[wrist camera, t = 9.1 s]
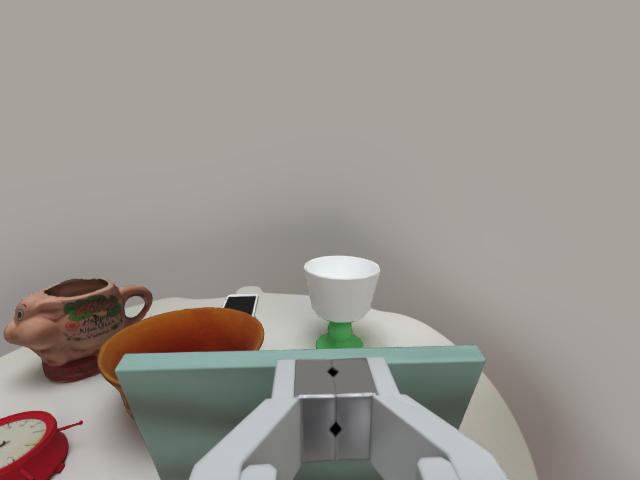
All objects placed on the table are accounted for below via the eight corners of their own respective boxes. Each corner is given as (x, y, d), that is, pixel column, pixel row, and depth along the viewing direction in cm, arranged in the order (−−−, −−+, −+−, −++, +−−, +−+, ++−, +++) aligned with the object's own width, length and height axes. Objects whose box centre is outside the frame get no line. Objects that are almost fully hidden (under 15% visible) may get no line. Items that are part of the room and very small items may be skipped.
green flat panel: (124, 352, 12) (113, 371, 11) (476, 344, 13) (487, 360, 12) (196, 537, 20) (192, 554, 19) (410, 525, 21) (414, 541, 20)
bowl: (225, 342, 61) (222, 294, 59) (295, 400, 46) (294, 338, 44) (94, 394, 47) (83, 333, 44) (133, 502, 32) (120, 418, 29)
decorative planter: (143, 328, 66) (135, 264, 63) (168, 350, 58) (161, 278, 55) (11, 372, 51) (-8, 292, 48) (22, 410, 44) (0, 317, 40)
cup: (386, 364, 54) (391, 277, 51) (306, 370, 53) (306, 280, 49) (365, 326, 68) (368, 254, 64) (301, 329, 66) (300, 256, 63)
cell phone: (214, 327, 66) (214, 324, 66) (227, 296, 82) (227, 294, 82) (252, 325, 67) (252, 323, 67) (258, 295, 83) (258, 293, 83)
